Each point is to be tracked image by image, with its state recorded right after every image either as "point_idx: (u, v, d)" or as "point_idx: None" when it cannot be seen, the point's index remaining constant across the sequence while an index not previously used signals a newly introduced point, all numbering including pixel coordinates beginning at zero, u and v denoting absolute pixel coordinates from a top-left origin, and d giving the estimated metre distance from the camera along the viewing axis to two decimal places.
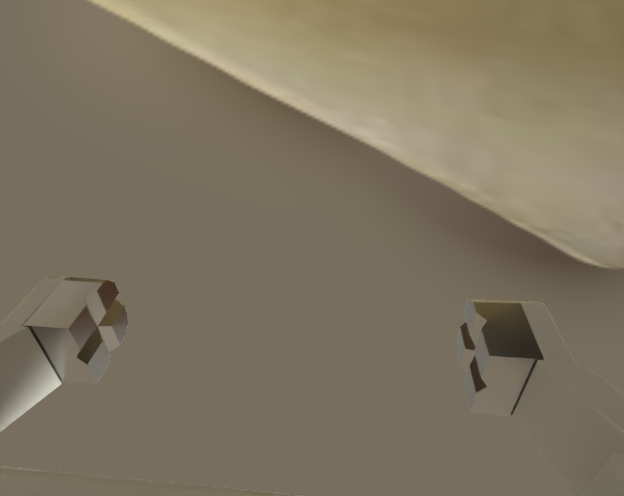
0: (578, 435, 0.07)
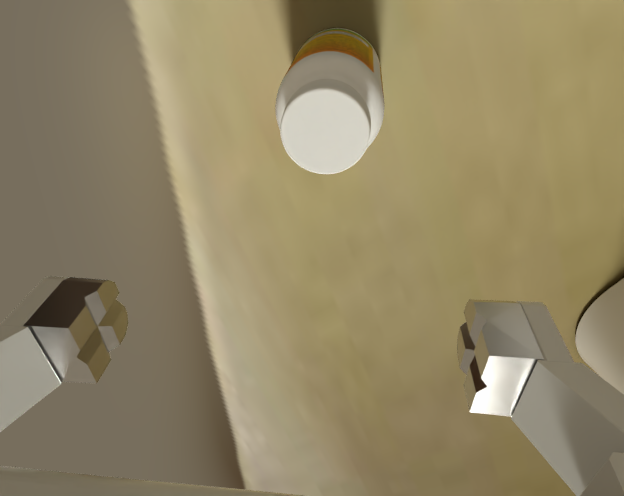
0: (578, 435, 0.07)
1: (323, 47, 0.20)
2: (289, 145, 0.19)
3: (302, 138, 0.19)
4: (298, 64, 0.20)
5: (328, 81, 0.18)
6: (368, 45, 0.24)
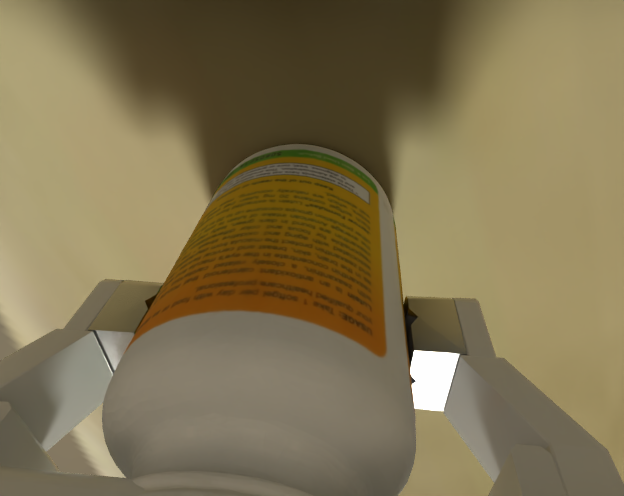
0: (496, 428, 0.07)
1: (237, 271, 0.07)
2: None
3: None
4: (145, 354, 0.06)
5: None
6: (368, 193, 0.10)
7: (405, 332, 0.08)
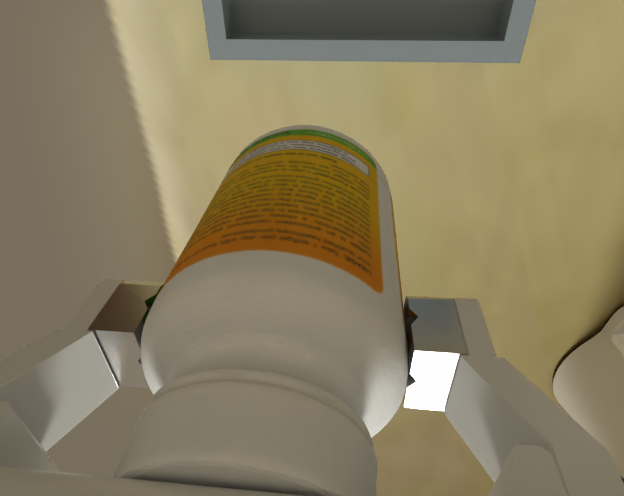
0: (496, 428, 0.07)
1: (256, 222, 0.08)
2: None
3: None
4: (182, 286, 0.07)
5: (245, 400, 0.06)
6: (368, 167, 0.12)
7: (399, 283, 0.09)
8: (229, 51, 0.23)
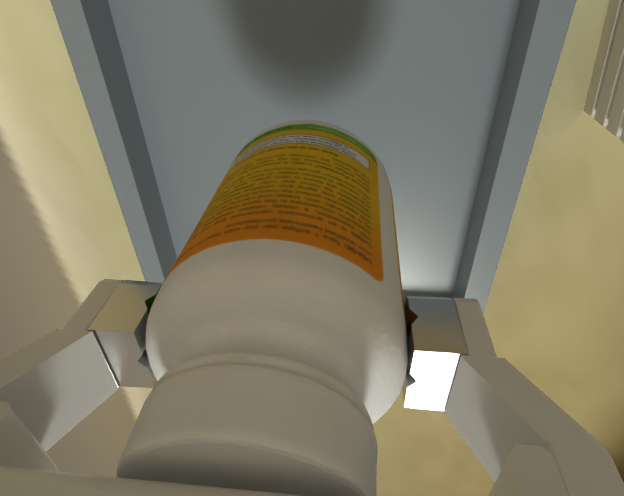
0: (496, 428, 0.07)
1: (259, 212, 0.08)
2: None
3: None
4: (187, 274, 0.07)
5: (249, 381, 0.06)
6: (368, 161, 0.12)
7: (399, 273, 0.10)
8: None
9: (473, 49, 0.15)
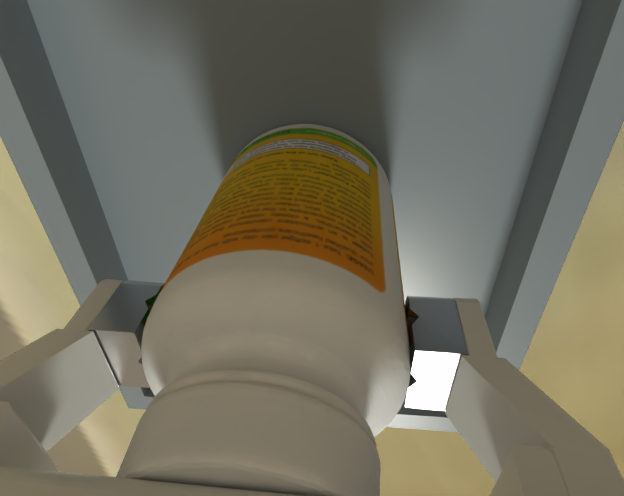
0: (497, 429, 0.07)
1: (257, 221, 0.08)
2: None
3: None
4: (183, 286, 0.07)
5: (248, 401, 0.06)
6: (369, 166, 0.11)
7: (401, 282, 0.09)
8: None
9: (509, 85, 0.11)
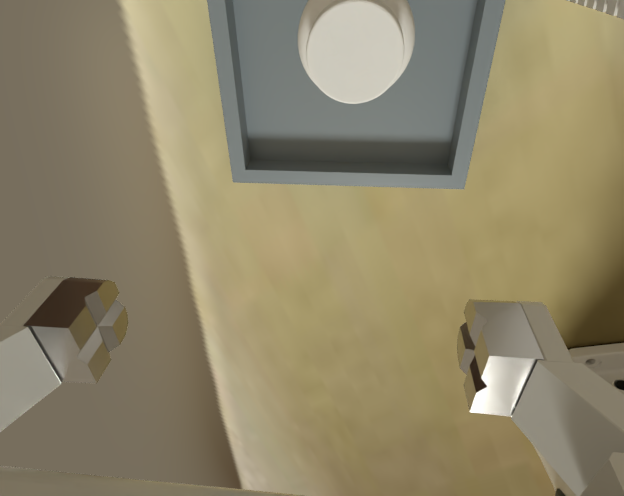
0: (578, 435, 0.07)
1: None
2: (315, 69, 0.18)
3: (330, 60, 0.17)
4: None
5: None
6: None
7: None
8: (247, 177, 0.30)
9: None
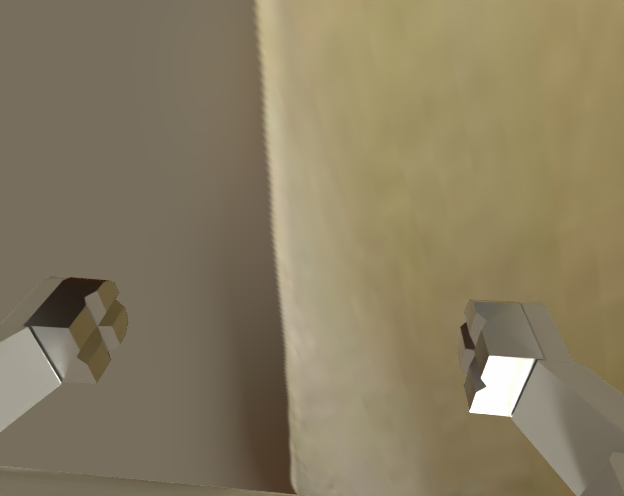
0: (578, 435, 0.07)
1: None
2: None
3: None
4: None
5: None
6: None
7: None
8: None
9: None
